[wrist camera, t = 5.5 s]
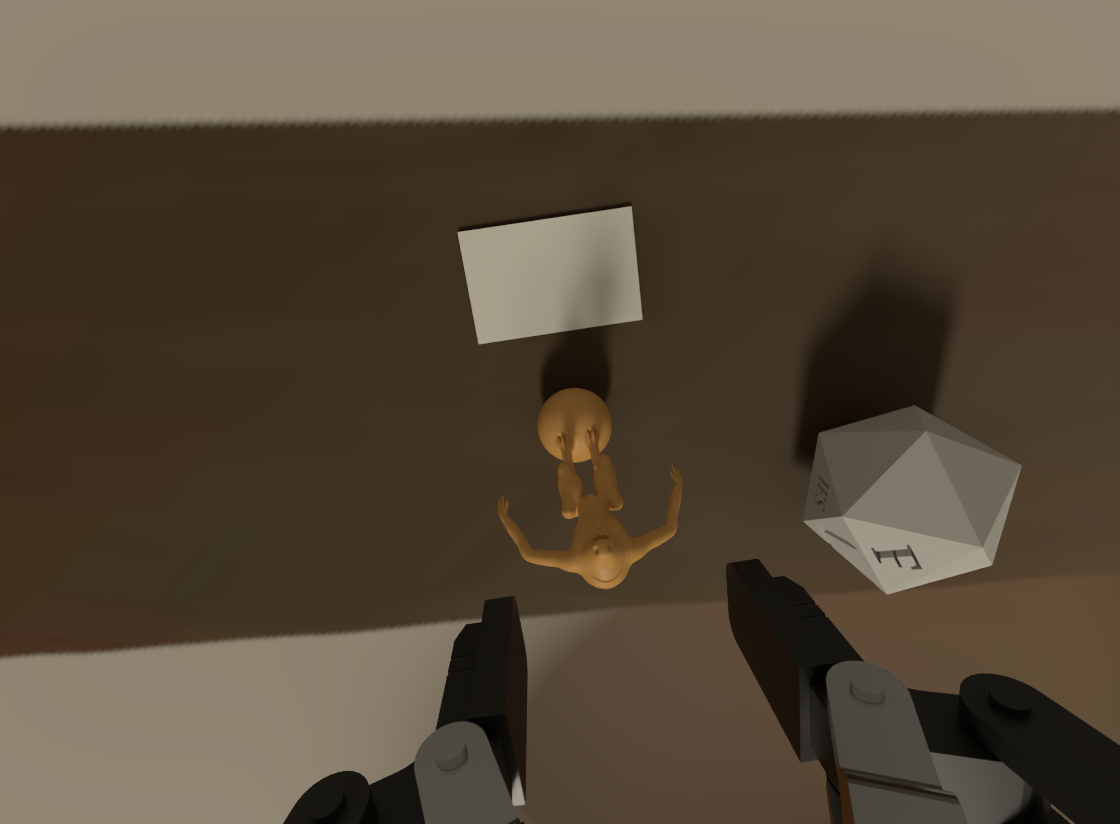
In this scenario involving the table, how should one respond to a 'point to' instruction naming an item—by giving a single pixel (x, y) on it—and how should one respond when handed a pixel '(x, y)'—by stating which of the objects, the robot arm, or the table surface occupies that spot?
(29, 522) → the table surface
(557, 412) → the figurine
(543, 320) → the grey mat
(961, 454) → the die
